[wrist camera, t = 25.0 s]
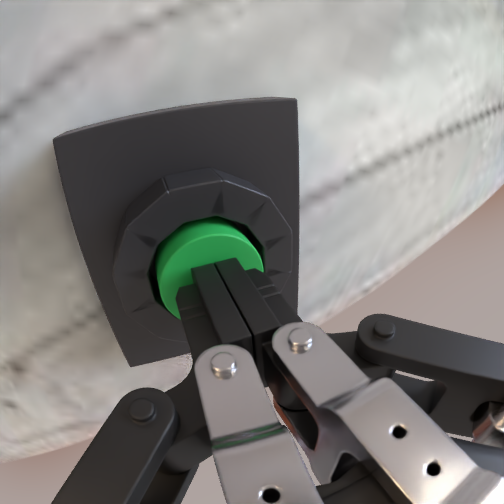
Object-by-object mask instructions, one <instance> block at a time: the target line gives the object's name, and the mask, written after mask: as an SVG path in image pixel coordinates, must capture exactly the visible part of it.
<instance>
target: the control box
mask: <svg viewBox="0 0 504 504" xmlns="http://www.w3.org/2000/svg"><path fill="white" fill-rule="evenodd" d="M53 145H54V150H55V155H56V160H57V164H58V169H59V173H60V177H61V182H62V186H63V190H64V194H65V197H66V201H67V205H68V208H69V212H70V215H71V219H72V222H73V226H74V229H75V232H76V235H77V239H78V242H79V245H80V248H81V251H82V254H83V257H84V260H85V262H86V265H87V268H88V271H89V274H90V276H91V279H92V282H93V284H94V287H95V289H96V292H97V295H98V297H99V300H100V302H101V304H102V307H103V309H104V312H105V314H106V316H107V319H108V321H109V323H110V326H111V328H112V330H113V332H114V335H115V337H116V339H117V341H118V343H119V345H120V347H121V350H122V352H123V354H124V356H125V358H126V360H127V362H128V364H129V366H130V367H134V366H139V365H143V364H147V363H151V362H156V361H160V360H164V359H168V358H172V357H176V356H180V355H184V354H187V353H190V349H189V346H188V343H187V339H186V336H185V333H184V329H183V326H182V322H181V320H180V319H179V318H177V317H176V316H174V315H173V314H172V313H171V312H170V311H169V310H168V309H167V308H166V306H165V305H164V303H163V301H162V298H161V295H160V290H159V285H158V280H157V275H156V269H155V254H156V250H157V247H158V245H159V244H160V243H161V242H162V241H163V240H164V239H165V238H166V237H168V236H169V235H170V234H171V233H172V232H174V231H175V230H176V229H177V228H178V227H179V226H181V225H182V224H183V223H185V222H190V221H194V220H199V219H204V218H208V217H213V216H219V217H222V218H225V219H227V220H229V221H231V222H232V223H233V224H235V225H236V226H237V227H238V228H239V229H240V230H241V232H242V233H243V234H244V235H245V237H246V238H247V239H248V240H249V241H250V243H251V244H252V245H253V246H254V248H255V249H256V250H257V252H258V253H259V255H260V257H261V260H262V264H263V273H265V274H267V275H268V277H269V278H270V279H271V281H272V282H273V283H274V286H276V287H277V288H278V290H279V291H280V294H282V295H283V296H284V298H285V299H286V300H287V302H288V303H289V304H290V305H291V307H292V308H293V309H294V311H295V312H296V313H297V308H298V273H299V141H298V108H297V99H295V98H282V97H264V98H249V99H237V100H226V101H217V102H208V103H200V104H193V105H186V106H179V107H173V108H167V109H161V110H155V111H150V112H145V113H140V114H135V115H130V116H125V117H121V118H116V119H112V120H108V121H104V122H100V123H96V124H92V125H88V126H85V127H81V128H77V129H74V130H70V131H67V132H65V133H63V134H61V135H59V136H57V137H55V138H54V139H53Z"/></svg>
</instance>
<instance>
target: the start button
mask: <svg viewBox="0 0 504 504" xmlns="http://www.w3.org/2000/svg"><path fill="white" fill-rule="evenodd" d="M235 257H236V258H237V259H238V261H239V262H240V264H241V265H242V267H243V268H244V270H249V269H252V268H256V269H258V270H259V271H261V272H263V264H262V260H261V257H260V255H259V253H258V252H257V250H256V249H255V248H254V246H253V245H252V244H251V243H250V241H249V240H248V239H247V238H246V237H245V235H244V234H243V233H242V232H241V230H240V229H239V228H238V227H237V226H236V225H235V224H233V223H232V222H231V221H229V220H227V219H225V218H222V217H219V216H213V217H208V218H204V219H199V220H194V221H190V222H185V223H183V224H182V225H181V226H179V227H178V228H177V229H176V230H175V231H174V232H172V233H171V234H170V235H169V236H168V237H166V238H165V239H164V240H163V241H162V242H161V243H160V244H159V245H158V247H157V250H156V254H155V269H156V275H157V280H158V285H159V290H160V295H161V298H162V301H163V303H164V305H165V306H166V308H167V309H168V310H169V311H170V312H171V313H172V314H173V315H174V316H176V317H177V318H179V319H180V320H181V318H180V315H179V311H178V307H177V303H176V299H175V298H176V295H177V292H178V289H179V287H182V286H186V285H190V284H193V280H192V275H191V268H194V267H198V266H202V265H206V264H210V263H213V264H214V262H218V261H222V260H226V259H230V258H235Z"/></svg>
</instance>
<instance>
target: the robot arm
mask: <svg viewBox="0 0 504 504" xmlns="http://www.w3.org/2000/svg"><path fill="white" fill-rule="evenodd" d="M191 275H192V280H193V284H190V285H186V286H182V287H179V289H178V292H177V295H176V298H175V299H176V303H177V307H178V311H179V315H180V318H181V322H182V326H183V329H184V333H185V336H186V339H187V343H188V346H189V349H190V353H191V356H192V359H193V365H192V369H191V371H190V373H189V375H188V376H187V377H186V378H185V379H184V380H183V381H182V382H181V383H180V384H178V385H177V386H175V387H173V388H172V389H170V390H168V391H166V392H165V393H164V392H163V391H161V390H158V389H155V388H140V389H136V390H133V391H131V392H129V393H128V394H126V395H125V396H124V397H123V398H122V399H121V400H120V401H119V402H118V404H117V405H116V407H115V408H114V410H113V411H112V413H111V414H110V416H109V417H108V418H107V420H106V421H105V423H104V424H103V426H102V427H101V429H100V430H99V432H98V433H97V435H96V436H95V438H94V439H93V441H92V442H91V444H90V445H89V447H88V448H87V450H86V451H85V453H84V454H83V456H82V457H81V459H80V460H79V462H78V463H77V465H76V466H75V468H74V469H73V471H72V472H71V474H70V476H69V477H68V478H67V480H66V482H65V483H64V484H63V486H62V488H61V489H60V491H59V492H58V494H57V495H56V497H55V498H54V500H53V501H52V503H51V504H181V502H182V500H183V498H184V496H185V494H186V492H187V490H188V488H189V485H190V484H191V482H192V479H193V477H194V475H195V473H196V471H197V469H198V467H199V463H201V462H202V461H204V460H205V459H207V458H208V457H210V456H212V455H213V458H214V462H215V465H216V469H217V472H218V476H219V479H220V483H221V486H222V490H223V493H224V496H225V500H226V503H227V504H504V344H502V343H498V342H494V341H490V340H486V339H481V338H477V337H473V336H469V335H465V334H461V333H457V332H453V331H449V330H445V329H441V328H437V327H433V326H429V325H425V324H422V323H418V322H413V321H410V320H406V319H402V318H398V317H395V316H391V315H386V314H373V315H370V316H367V317H366V318H364V319H363V320H362V321H361V322H360V324H359V326H358V330H357V331H353V332H346V333H335V334H329V333H325V332H324V331H323V330H322V329H321V328H320V327H318V326H316V325H314V324H311V323H307V322H303V321H302V320H301V318H300V317H299V316H298V315H297V313H296V312H295V311H294V309H293V308H292V307H291V305H290V304H289V303H288V302H287V300H286V299H285V298H284V296H283V295H282V294H280V291H279V290H278V288H277V287H276V286H274V283H273V282H272V281H271V279H270V278H269V277H268V275H267V274H265V273H263V272H261V271H259V270H258V269H256V268H252V269H249V270H244V268H243V267H242V265H241V264H240V262H239V261H238V259H237V258H236V257H235V258H230V259H226V260H222V261H218V262H214V264H213V263H210V264H206V265H202V266H198V267H194V268H191ZM396 370H399V371H402V372H406V373H410V374H414V375H417V376H421V377H425V378H429V379H433V380H434V381H423V380H419V379H415V378H411V377H408V376H404V375H400V374H397V373H395V371H396ZM265 387H269V388H270V390H271V392H272V394H273V402H274V407H275V409H276V411H277V412H278V413H279V415H280V417H281V418H282V420H283V421H284V423H285V424H286V426H287V427H288V429H289V430H290V431H289V430H288V429H287V427H286V426H285V425H281V423H280V422H279V420H278V418H277V415H276V413H275V411H274V408H273V406H272V404H271V401H270V399H269V396H268V394H267V392H266V390H265ZM290 432H291V433H292V434H293V436H294V437H295V439H296V440H297V442H298V443H299V445H300V446H301V448H302V449H303V451H304V452H305V454H306V455H307V457H308V459H309V462H310V465H311V468H312V471H313V473H314V475H315V476H316V478H317V480H318V481H319V482H320V484H321V485H319V486H315V484H314V483H313V480H312V478H311V476H310V474H309V472H308V470H307V468H306V466H305V463H304V461H303V459H302V457H301V454H300V452H299V450H298V448H297V446H296V444H295V442H294V439H293V437H292V435H291V434H290ZM445 432H446V433H451V434H456V435H461V436H466V437H471V438H473V440H472V442H470V441H466V440H462V439H457V438H453V437H449V436H448V435H447V434H446V433H445Z"/></svg>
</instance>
